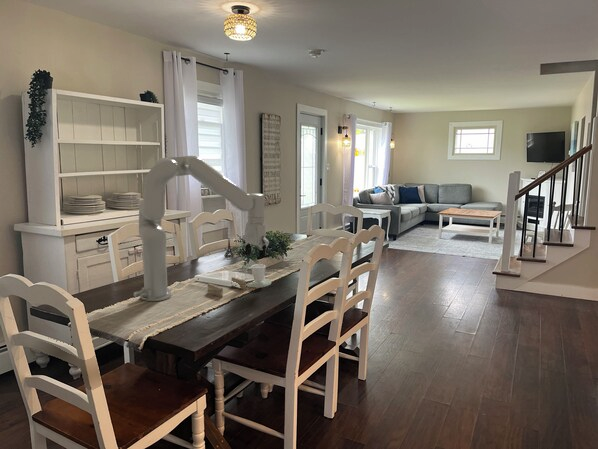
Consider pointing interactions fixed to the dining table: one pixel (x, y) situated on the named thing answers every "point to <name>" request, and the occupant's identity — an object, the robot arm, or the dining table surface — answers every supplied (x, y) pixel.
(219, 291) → the maple blocks
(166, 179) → the robot arm
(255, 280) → the cup
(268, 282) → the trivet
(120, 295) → the dining table surface
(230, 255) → the eiffel tower figurine
